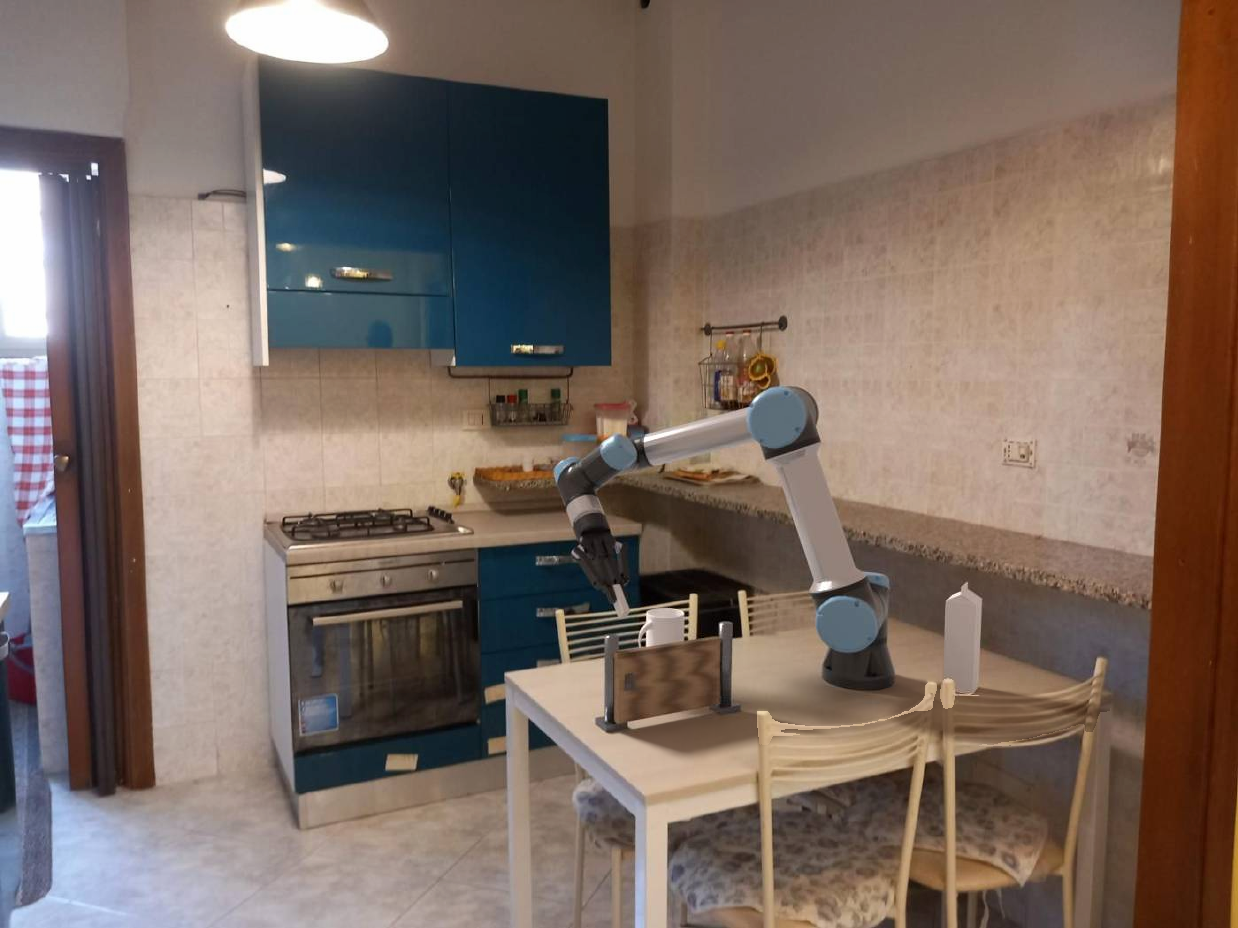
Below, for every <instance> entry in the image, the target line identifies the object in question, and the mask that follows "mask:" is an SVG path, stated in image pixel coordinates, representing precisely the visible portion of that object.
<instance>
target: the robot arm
mask: <svg viewBox="0 0 1238 928" xmlns="http://www.w3.org/2000/svg"><path fill="white" fill-rule="evenodd" d="M819 415H820V411H819V405H818V403H817V401H816V399H815V398H814V396H813V395H812V394H811V393H809V391H807V390H806V389H804V388H802V387H798V386H792V385H791V386H789V385H788V386H787V385H786V386H783V385H779V386H778V385H777V386H773V387H769V388H767V389H765V390H763V391H761V392H760V393H759V394H758V395H756V396H755V397H754V398H753V400H752V401H751V403H750V404H749V406H748V407H744V408H741V409H737V410H733V411H730V412H726V413H722V414H719V415H714V416H711V417H707V418H703V419H699V420H696V421H693V422H692V421H691V422H687V423H685V424H680V425H676V426H673V427H668V428H665V429H662V430H658V431H657V430H656V431H655V432H650V433H647V434H643V435H642V434H641V435H638V436H635V437H631V438H628V437H627V436H626V435H623V434H622V433H619V432H618V433H614V434H612V435H611V436H610V437H608V438H606V439H604V440H603V441H602V442H601V444H599V445H598V446H596V447H595V448H594V449H593V450H592V451H591V452H589V453H587V454H586V455H585V457H583V458H579V457H578V456H577V457H576V456H571V457H567V458H566V459H563V460H561V461H560V462H558V463H557V464H556V465H555V468H554V469H553V476H554V481H555V484H556V488H557V490H558V491H559V494H560V497H561V500H562V502H563V505H564V507H565V510H566V513H567V516H568V518H569V523H570V524H571V526H572V530H573V533H574V535H575V538H576V540H577V542H578V543H577V546H574V548H573V549H572V551H571V553H570V557H571V558H572V559H574V560H575V561H576V562H577V563H578V565H579V566H580V568H581V569H582V571H583V573H584V575H585V576H586V577H587V579H588V580H589V582H590V584H591V585H592V587H593V588H594V589H595V590H601V592H602V594H604V595H605V594H606V597H607V600H608V602H609V603H610V604H611V605H612V604H613V606H614V609H615V612H616V614H617V618H618V619H619V620H622V619H626V618H627V617H628V616H629V614H630V612H631V610H630V607H629V604H628V602H627V600H628V599H629V595H628V593H627V591H626V586H627V585H628V584H629V581H631V576H630V570H629V569H630V567H629V560H628V554H627V552H628V551H627V550H628V547H629V544H628V542H626V541H624V542H623V543H621V542H619V541H617V540H616V538H615V537H614V535H613V534H612V530H611V527H610V524H609V522H608V519H607V516H606V515H605V511H604V509H603V506H602V504H601V502H600V499H599V496H598V494H597V492H598V490H599V489H601V488H603V487H604V486H605V485H606V484H608V483H609V482H610V481H612V480H613V479H615V478H616V477H618V476H622V475H625V474H630V473H633V472H638V471H639V472H640V471H642V470H644V469H649V468H653V467H657V466H660V465H664V464H668V463H672V462H676V461H680V460H684V459H689V458H692V457H697V456H700V455H701V456H702V455H706V454H709V453H713V452H714V453H715V452H718V451H722V450H727V449H730V448H734V447H737V446H742V445H746V444H750V443H754V442H757V443H758V444H759V446H760V448H761V452H762V454H763V457H764V461H765V462H766V463H768V464H769V465H772V466H774V467H775V468H776V469H775V470H776V473H777V474H778V475H777V476H778V479H779V481H780V483H781V487H782V490H783V492H784V496H785V498H786V502H787V505H788V508H789V510H790V513H791V516H792V519H793V522H794V525H795V528H796V531H797V534H798V537H799V540H800V543H801V545H802V550H803V552H804V555H805V557H806V560H807V563H808V567H809V570H810V572H811V575H812V578H813V582H812V584H811V585H810V588H809V593H810V596H811V599H812V603H813V606H814V609H815V612H816V613H815V621H814V623H815V624H814V625H815V630H816V633H817V634H818V637H819V638H820V640H821V641H822V642H823V643H824V644H825V645H826V646H827V647H828V648H827V651H826V653H825V656H824V657H823V662H822V664H821V676H822V678H823V680H824V681H826V682H828V683H830V684H832V685H835V686H838V687H843V688H847V689H855V690H880V689H885V688H888V687H890V686H893V684H894V683H895V681H896V680H895V679H896V678H895V677H896V671H895V667H894V664H893V660H892V656H891V653H890V649H889V647H888V634H889V632H888V629H889V628H888V627H889V625H888V624H889V598H890V596H889V595H890V594H889V593H890V591H891V587H890V579H889V577H888V576H887V575H886V574H882V573H878V572H871V571H862V570H861V569H858V568H857V567H856V564H855V562H854V559H853V556H852V553H851V551H850V547H849V544H848V540H847V537H846V535H845V532H844V529H843V526H842V523H841V521H840V518H839V514H838V512H837V508H836V506H835V503H834V501H833V496H832V494H831V490H830V488H829V485H828V482H827V480H826V479H827V478H826V476H825V473H824V471H823V468H822V464H821V462H820V459H819V455H818V451H819V449H820V448H821V445H822V440H821V438H820V434H819V432H818V429H817V425H818V421H819ZM614 549H615V552H616V553H614ZM615 554H617V562H616V559H615V557H614V556H615Z"/></svg>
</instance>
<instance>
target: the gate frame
mask: <svg viewBox="0 0 1238 928" xmlns="http://www.w3.org/2000/svg"><path fill="white" fill-rule="evenodd" d="M733 624H734V623H733V622H731V621H719V623H718V637H720V638H721V643H720V675H719V704H718V705H713V706H708V708H709V709H710V710H712V711H714V712H715V713H718V714H720V715H726V714H730V713H731V714H732V713H736V712H737V713H738V712H740V711H741V709H742V708H741V707H742V706H741V704H740V703H738V702H736V701H734V700H732V694H733V693H732V688H733V687H732V685H733V683H732V681H733V680H732V679H733V678H732V677H733V634H734V633H733ZM619 638H620V637H619V634H616V633H608V634H604V661H603V662H604V664H603V665H604V666H603V667H604V669H603V670H604V672H603V673H604V675H603V676H604V677H603V678H604V684H603V685H604V687H603V688H604V695H603V697H604V699H603V700H604V706H603V707H604V708H603V709H604V711H603V712H604V714H603V715H602V716H597V717H595V722H594V723H595V725H596V726H597V727H598V728H600V729H601V730H603V731H604V732H605V733H608V732H614V731H619V730H624V729H628V728H629V727H628V723H629V722H626V723H620V724H617V723H616V722H614V658H613V652H617V651H620V649H619V648H620V647H619V643H620V641H619V640H620V639H619Z"/></svg>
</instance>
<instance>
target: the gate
mask: <svg viewBox="0 0 1238 928" xmlns="http://www.w3.org/2000/svg"><path fill="white" fill-rule="evenodd" d="M720 643H721V638H720V637H719V636H717V635H716V636H714V635H713V636H709V637H704V638H697V639H689V640H688V639H687V640H684V641H682V642H675V643H669V644H662V645H656V646H649V647H646V646H644V647H642V648H639V647H637V648H630V649H624V650H619V651H617V652H613V658H614V722H616V723H617V724H620V723H626V722H628V723H630V722H635V721H641V720H644V719H645V720H646V719H651V718H655V717H659V716H660V717H662V716H665V715H670V714H676V713H683V712H686V711H691V710H692V711H693V710H696V709H701V708H707V707H708V708H709V706H713V705H718V704H719V675H720Z"/></svg>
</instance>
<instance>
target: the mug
mask: <svg viewBox="0 0 1238 928" xmlns="http://www.w3.org/2000/svg"><path fill="white" fill-rule="evenodd" d="M645 616H646V619H645V621H646V622H645V624H644V625H643V626H642V627H641V629H640V631H639V634H638V648H643V647H642V645H641V640H642V637H643V636H644V634H645V636H646V637H645V639H646V640H645V647H649V646H656V645H662V644H669V643H675V642H682V641H685V612H684V611H683V610H681V609H677V608H670V607H669V608H668V607H661V608H660V607H657V608H653V609H648V610H647V611H646V615H645Z"/></svg>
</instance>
